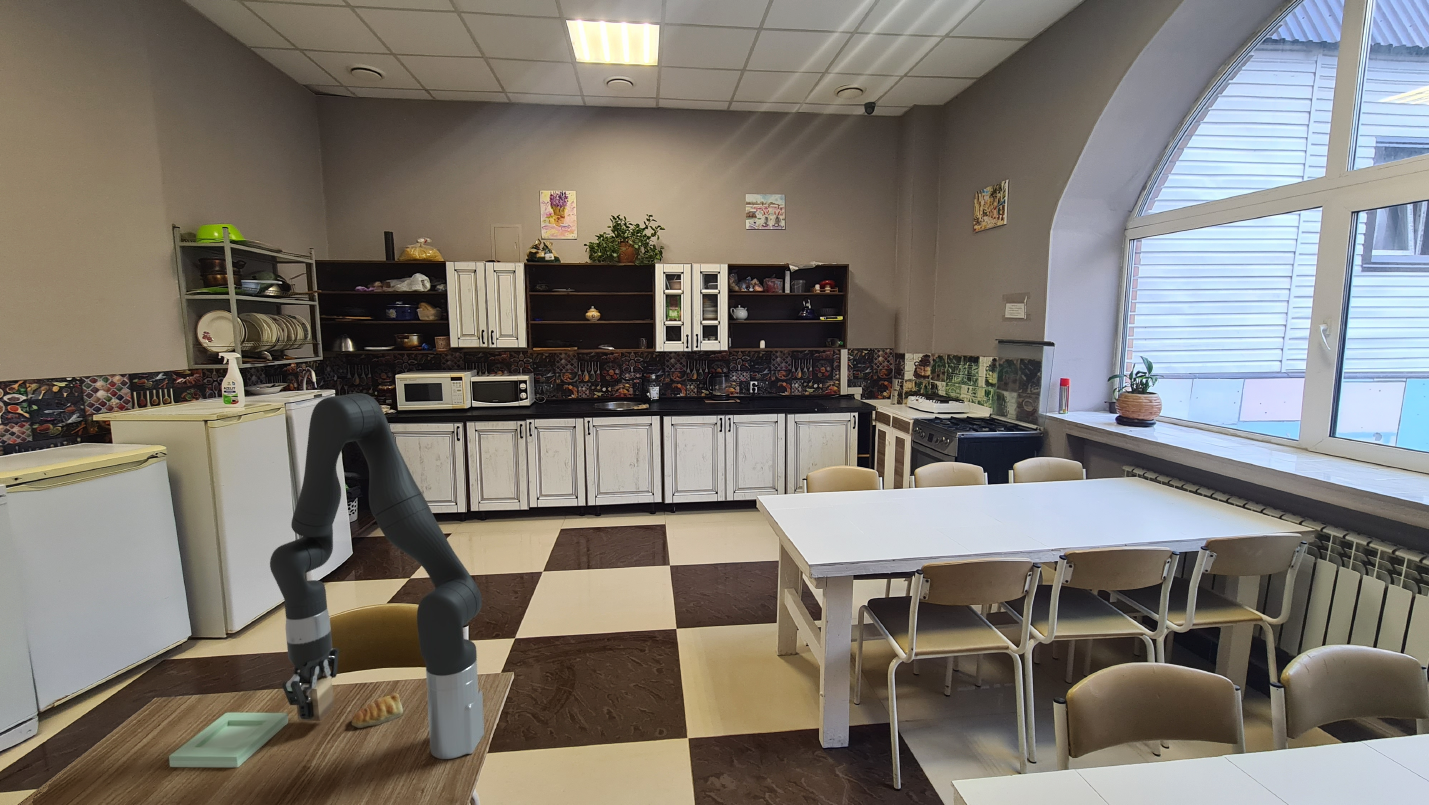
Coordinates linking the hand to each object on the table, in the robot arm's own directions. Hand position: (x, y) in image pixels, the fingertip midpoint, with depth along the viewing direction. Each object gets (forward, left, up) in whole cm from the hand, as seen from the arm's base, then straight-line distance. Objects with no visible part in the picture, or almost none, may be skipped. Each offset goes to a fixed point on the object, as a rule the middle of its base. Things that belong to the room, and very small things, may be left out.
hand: (316, 710), depth 122 cm
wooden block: (0, 0, -1) cm, 1 cm away
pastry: (-12, -3, -4) cm, 13 cm away
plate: (+13, +5, -4) cm, 15 cm away
